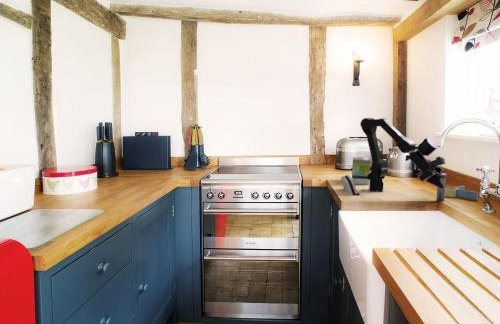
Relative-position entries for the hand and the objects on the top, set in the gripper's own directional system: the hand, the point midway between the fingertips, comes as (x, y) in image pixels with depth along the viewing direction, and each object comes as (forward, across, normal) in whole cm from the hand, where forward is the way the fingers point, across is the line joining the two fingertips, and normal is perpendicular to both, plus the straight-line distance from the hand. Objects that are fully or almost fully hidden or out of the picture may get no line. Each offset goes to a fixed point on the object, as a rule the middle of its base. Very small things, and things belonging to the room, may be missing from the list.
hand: (444, 187), depth 174 cm
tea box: (-32, +21, +41) cm, 56 cm away
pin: (+4, 0, +6) cm, 7 cm away
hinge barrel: (+6, +17, +3) cm, 18 cm away
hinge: (-25, -10, +35) cm, 45 cm away
